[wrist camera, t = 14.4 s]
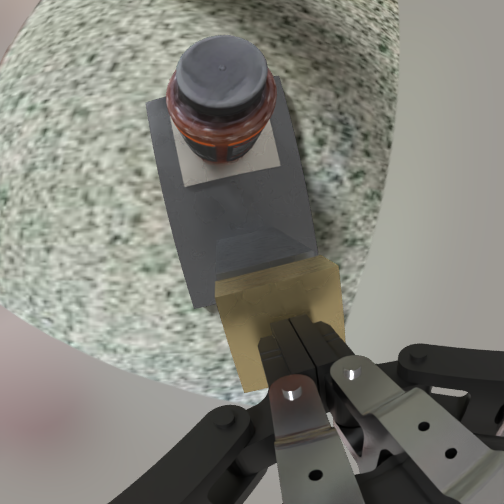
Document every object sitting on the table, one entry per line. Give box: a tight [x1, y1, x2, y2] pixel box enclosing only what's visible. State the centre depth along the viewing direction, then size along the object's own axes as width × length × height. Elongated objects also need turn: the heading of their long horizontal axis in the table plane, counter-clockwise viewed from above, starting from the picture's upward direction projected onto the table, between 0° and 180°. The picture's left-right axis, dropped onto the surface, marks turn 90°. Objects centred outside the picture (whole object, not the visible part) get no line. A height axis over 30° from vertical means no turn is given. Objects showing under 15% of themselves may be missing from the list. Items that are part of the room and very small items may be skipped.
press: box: [146, 76, 318, 309], centre depth 18 cm, size 19×12×12 cm, turn 12°
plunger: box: [215, 255, 345, 393], centre depth 17 cm, size 5×5×12 cm
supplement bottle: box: [166, 35, 277, 163], centre depth 15 cm, size 6×6×11 cm
